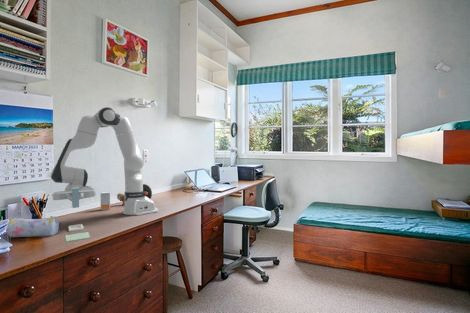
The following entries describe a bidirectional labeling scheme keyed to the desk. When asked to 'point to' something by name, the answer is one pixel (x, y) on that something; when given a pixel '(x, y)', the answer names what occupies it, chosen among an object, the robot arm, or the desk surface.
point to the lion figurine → (121, 198)
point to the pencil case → (33, 227)
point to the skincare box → (105, 200)
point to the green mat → (77, 237)
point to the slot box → (75, 227)
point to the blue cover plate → (75, 197)
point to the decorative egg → (147, 190)
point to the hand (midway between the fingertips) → (75, 196)
